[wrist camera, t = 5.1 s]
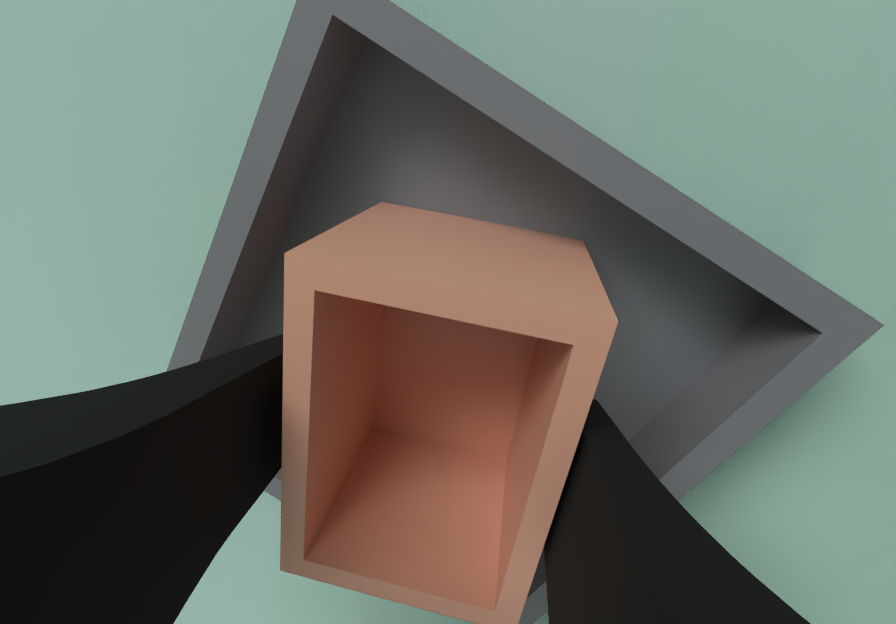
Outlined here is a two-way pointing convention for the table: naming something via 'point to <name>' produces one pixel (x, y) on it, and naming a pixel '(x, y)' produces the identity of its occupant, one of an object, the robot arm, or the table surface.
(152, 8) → the table surface
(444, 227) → the small crate
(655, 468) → the big crate
